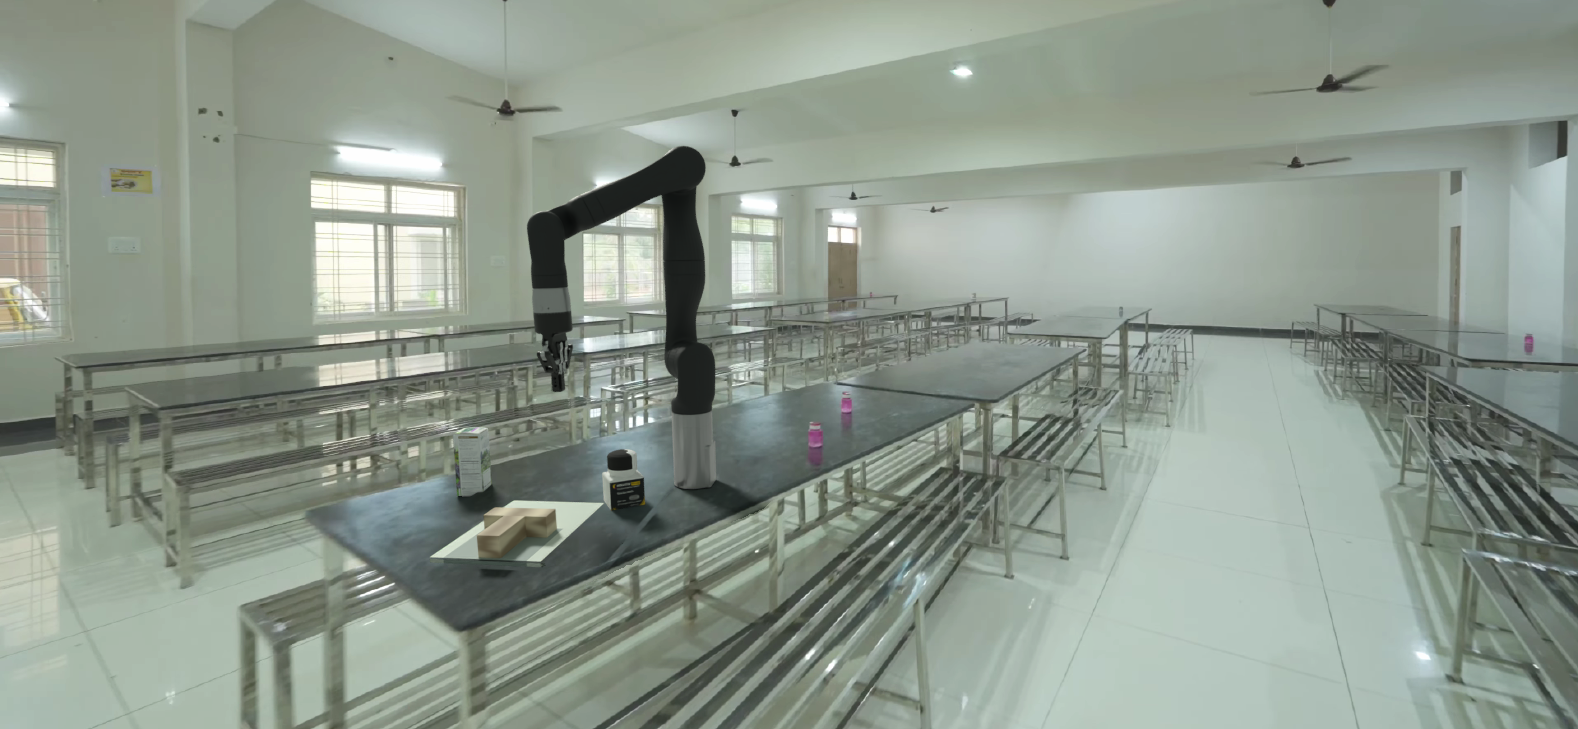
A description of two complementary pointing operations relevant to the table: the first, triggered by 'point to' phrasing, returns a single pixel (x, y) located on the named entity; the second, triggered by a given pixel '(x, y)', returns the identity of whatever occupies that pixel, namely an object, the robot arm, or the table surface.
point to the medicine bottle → (623, 480)
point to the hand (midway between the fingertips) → (559, 391)
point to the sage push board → (528, 548)
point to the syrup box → (472, 460)
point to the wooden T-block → (513, 529)
